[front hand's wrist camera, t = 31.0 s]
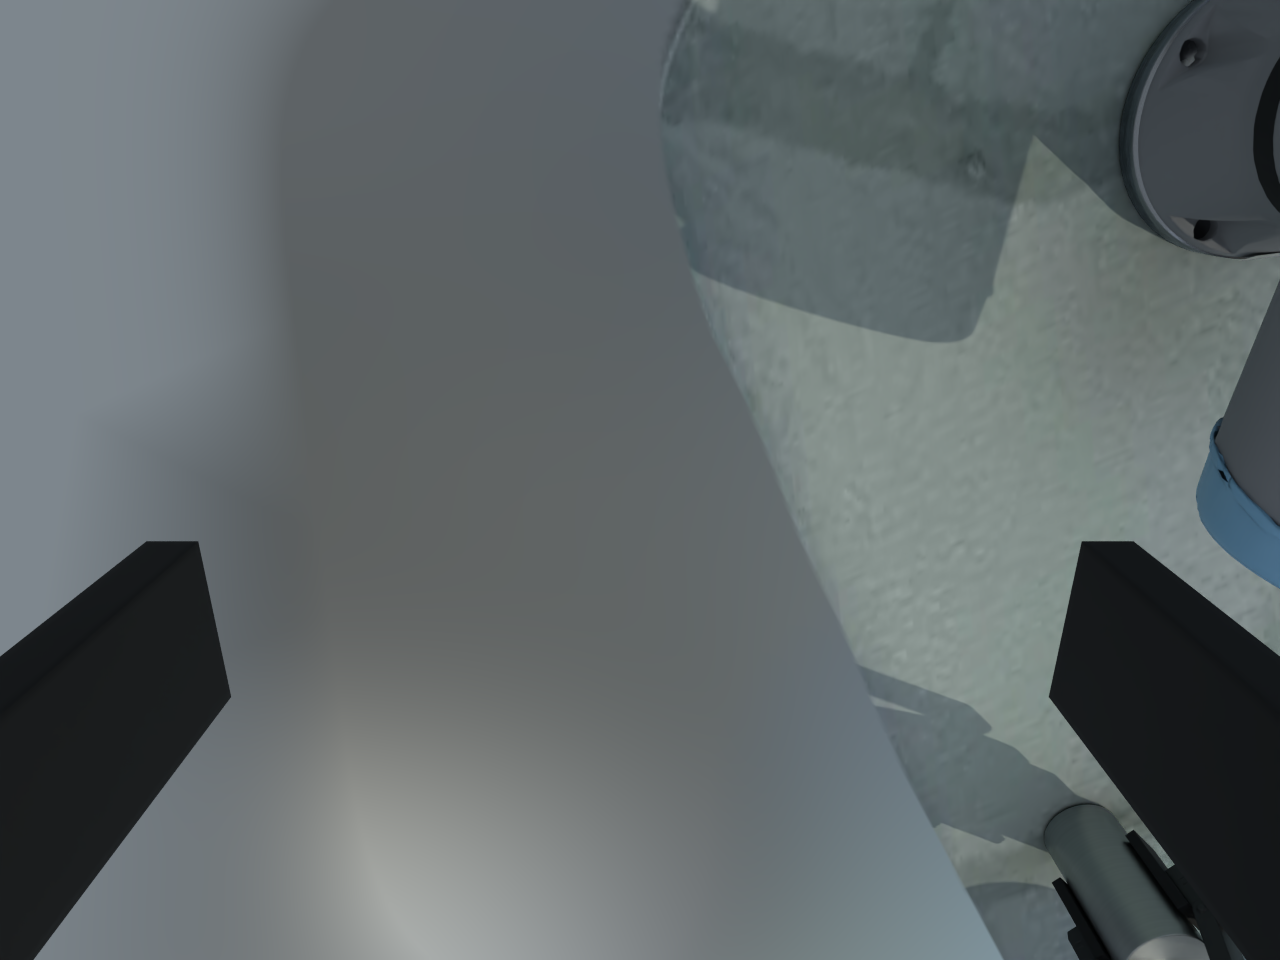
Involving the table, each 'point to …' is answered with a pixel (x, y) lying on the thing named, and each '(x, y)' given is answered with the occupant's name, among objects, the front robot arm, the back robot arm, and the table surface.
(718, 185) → the table surface
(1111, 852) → the tin
